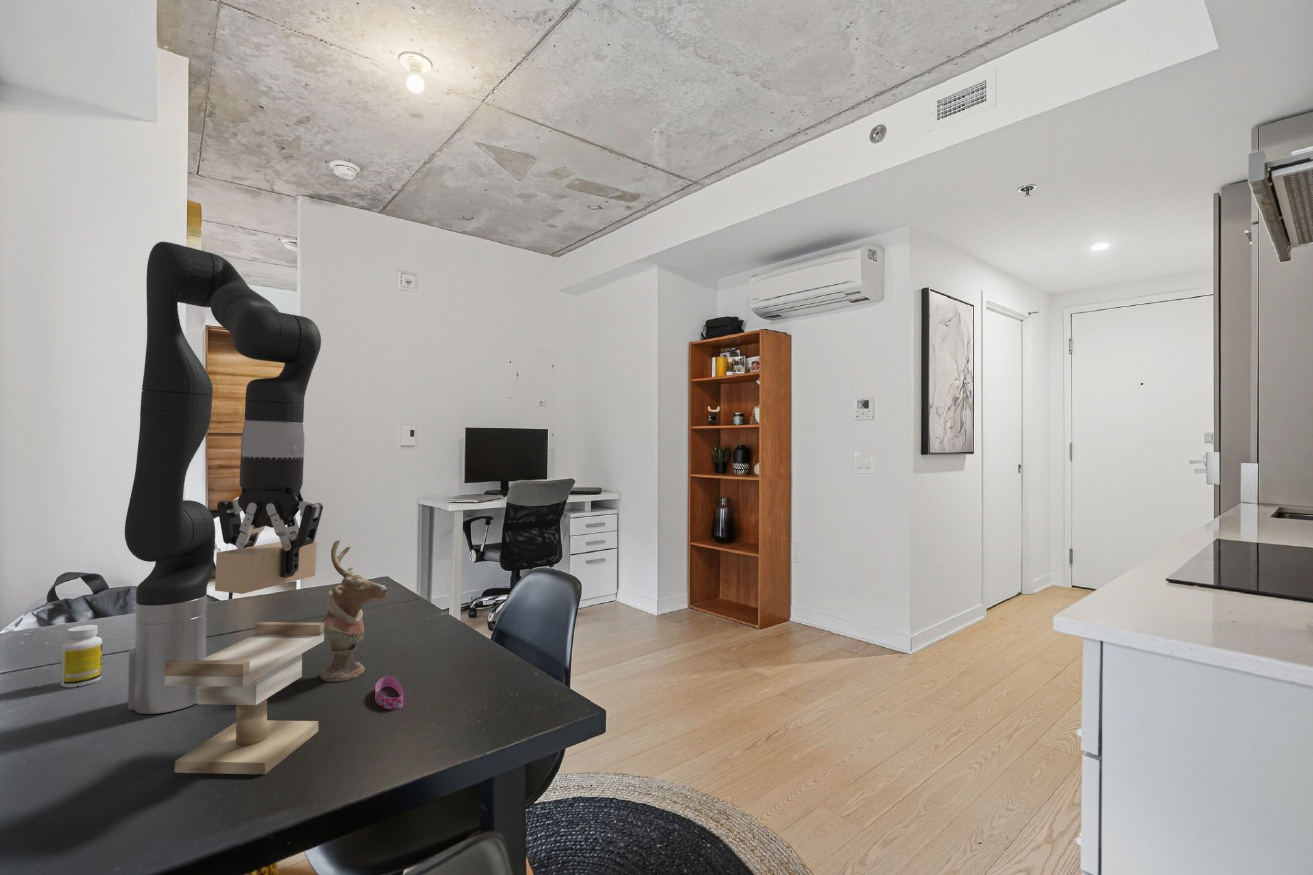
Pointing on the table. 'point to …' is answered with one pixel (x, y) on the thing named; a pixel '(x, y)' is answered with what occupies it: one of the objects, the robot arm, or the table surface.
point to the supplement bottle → (81, 657)
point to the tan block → (259, 567)
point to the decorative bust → (347, 619)
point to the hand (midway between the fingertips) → (267, 575)
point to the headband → (387, 701)
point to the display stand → (248, 698)
